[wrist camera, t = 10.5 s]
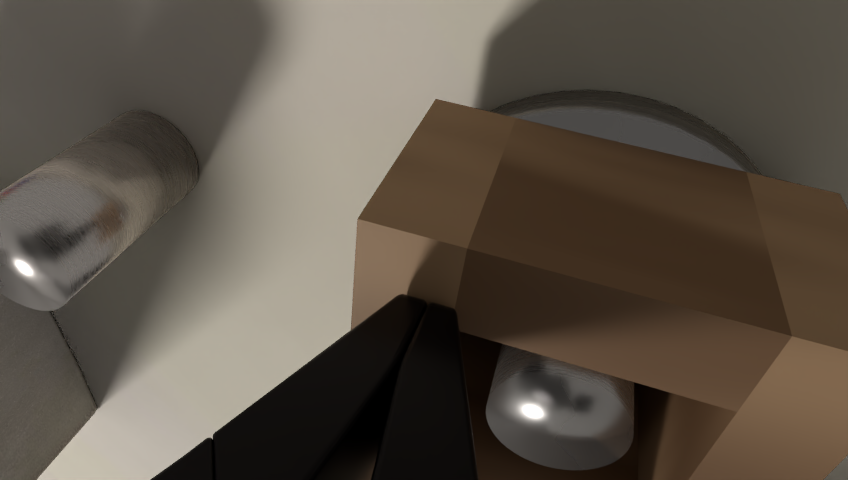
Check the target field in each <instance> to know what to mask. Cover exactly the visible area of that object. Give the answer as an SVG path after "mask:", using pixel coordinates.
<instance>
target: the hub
mask: <svg viewBox="0 0 848 480" xmlns="http://www.w3.org/2000/svg"><path fill="white" fill-rule="evenodd" d="M490 112H493V113H497V114H502V115H506V116H510V117H514V118H519V119H523V120H527V121H531V122H536V123H540V124H544V125H548V126H553V127H557V128H561V129H565V130H570V131H574V132H578V133H582V134H587V135H591V136H595V137H599V138H604V139H608V140H612V141H617V142H621V143H625V144H629V145H634V146H638V147H642V148H646V149H651V150H655V151H659V152H663V153H668V154H672V155H676V156H680V157H685V158H689V159H693V160H697V161H702V162H706V163H710V164H715V165H719V166H723V167H727V168H732V169H736V170H740V171H744V172H749V173H753V174H757V175H761V173H760V172H759V171H758V169H757V168H756V167H755V166H754V164H753V163H752V162H751V161H750V159H749V158H748V157H747V156H746V155H745V153H743V152H742V151H741V150H740V149H739V148H738V147H737V146H736V145H735V144H733V143H732V142H731V141H730V140H729V139H728V138H727V137H726V136H724V135H723V134H721V133H720V132H719V131H717V130H716V129H714V128H713V127H711V126H710V125H708V124H707V123H705V122H704V121H702V120H700V119H698V118H696V117H694V116H692V115H690V114H688V113H686V112H684V111H682V110H680V109H678V108H675V107H672V106H669V105H667V104H664V103H661V102H658V101H655V100H652V99H649V98H644V97H639V96H634V95H629V94H624V93H620V92H607V91H595V90H582V91H560V92H554V93H548V94H542V95H536V96H532V97H528V98H525V99H522V100H518V101H515V102H512V103H508V104H506V105H504V106H501V107H499V108H497V109H495V110H492V111H490ZM761 176H762V175H761ZM486 418H487V422H488V425H489V427H490V429H491V430H492V432H493V433H494V435H495V436H496V437H497V438H498V440H499V441H500V442H501V443H502V444H504V445H505V446H506V447H507V448H508V449H510V450H511V451H513V452H514V453H516V454H517V455H519V456H521V457H523V458H525V459H527V460H529V461H532V462H534V463H537V464H540V465H543V466H547V467H551V468H556V469H562V470H589V469H595V468H600V467H603V466H606V465H608V464H611V463H613V462H615V461H616V460H618V459H620V458H621V457H622V456H623V455H624V454H625V453H626V452H627V451H628V450H629V448H630V446H631V444H632V441H633V435H634V382H632V381H629V380H625V379H622V378H618V377H615V376H611V375H608V374H605V373H601V372H598V371H594V370H591V369H587V368H584V367H581V366H577V365H574V364H570V363H567V362H563V361H560V360H557V359H553V358H550V357H546V356H543V355H539V354H536V353H533V352H529V351H526V350H522V349H519V348H515V347H512V346H508V345H505V344H502V345H501V349H500V353H499V357H498V361H497V365H496V369H495V373H494V377H493V381H492V385H491V389H490V393H489V397H488V401H487V405H486Z"/></svg>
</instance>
